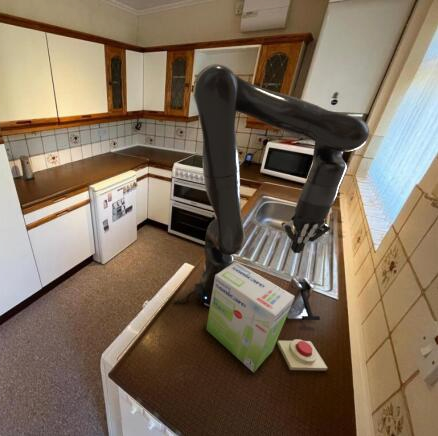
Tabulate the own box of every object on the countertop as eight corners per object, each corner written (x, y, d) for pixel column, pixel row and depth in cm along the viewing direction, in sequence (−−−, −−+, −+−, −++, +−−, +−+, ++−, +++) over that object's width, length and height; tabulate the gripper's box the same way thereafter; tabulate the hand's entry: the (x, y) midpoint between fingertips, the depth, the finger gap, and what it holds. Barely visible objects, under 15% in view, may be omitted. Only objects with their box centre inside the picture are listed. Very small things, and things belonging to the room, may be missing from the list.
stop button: (300, 356, 67) (302, 352, 66) (293, 344, 70) (295, 340, 69) (313, 356, 67) (315, 353, 66) (305, 344, 70) (307, 341, 69)
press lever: (317, 320, 76) (321, 319, 74) (301, 320, 76) (305, 319, 74) (305, 283, 82) (309, 281, 80) (290, 283, 82) (294, 281, 80)
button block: (289, 371, 67) (293, 363, 65) (275, 344, 74) (279, 336, 72) (324, 372, 67) (330, 364, 65) (308, 345, 74) (312, 337, 72)
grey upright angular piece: (310, 320, 82) (324, 294, 75) (287, 320, 82) (299, 293, 75) (294, 298, 90) (306, 272, 84) (273, 297, 90) (283, 272, 84)
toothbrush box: (203, 329, 78) (214, 273, 66) (223, 314, 84) (237, 259, 72) (252, 375, 66) (276, 316, 54) (271, 353, 71) (297, 295, 60)
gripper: (298, 204, 60) (279, 259, 68) (351, 205, 60) (325, 259, 68) (284, 192, 66) (268, 243, 75) (331, 193, 66) (310, 244, 75)
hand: (295, 251), depth 71 cm, fingers closed
